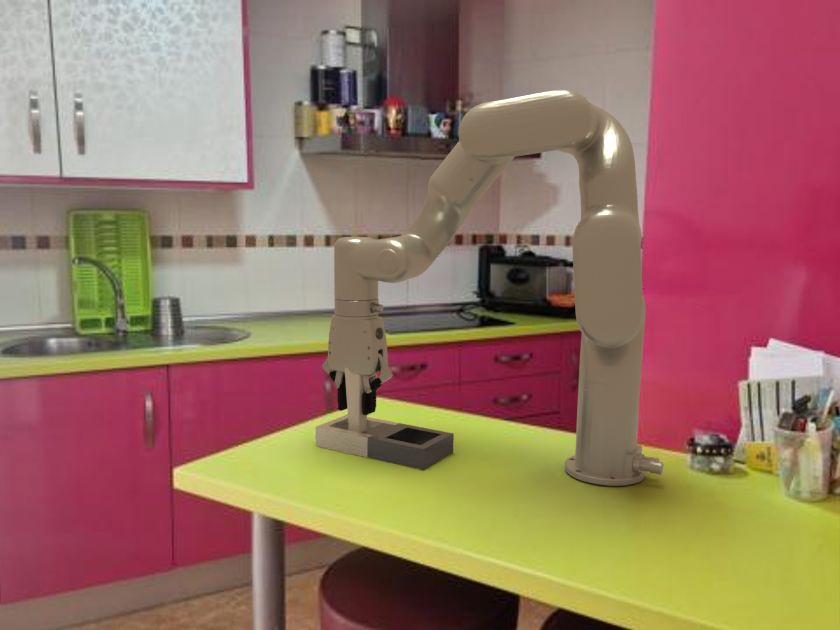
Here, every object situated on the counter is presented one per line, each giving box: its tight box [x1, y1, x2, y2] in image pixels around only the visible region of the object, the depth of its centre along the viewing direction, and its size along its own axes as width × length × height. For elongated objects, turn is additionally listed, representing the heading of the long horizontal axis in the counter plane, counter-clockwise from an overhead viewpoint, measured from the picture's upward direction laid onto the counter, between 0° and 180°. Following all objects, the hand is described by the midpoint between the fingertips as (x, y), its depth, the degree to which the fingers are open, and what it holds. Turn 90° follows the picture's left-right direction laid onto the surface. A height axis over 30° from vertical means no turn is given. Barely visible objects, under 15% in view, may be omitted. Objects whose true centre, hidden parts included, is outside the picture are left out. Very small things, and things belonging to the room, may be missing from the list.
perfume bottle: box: [345, 368, 368, 433], centre depth 136 cm, size 5×4×15 cm
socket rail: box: [315, 413, 455, 471], centre depth 134 cm, size 22×10×4 cm, turn 59°
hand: (356, 410), depth 136 cm, fingers closed on perfume bottle, 4 cm apart
